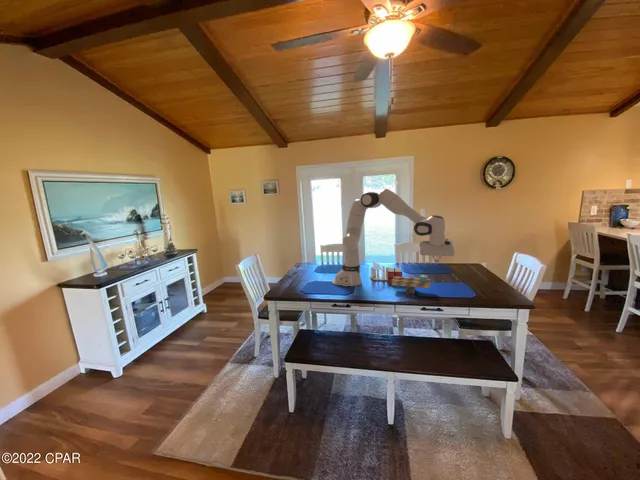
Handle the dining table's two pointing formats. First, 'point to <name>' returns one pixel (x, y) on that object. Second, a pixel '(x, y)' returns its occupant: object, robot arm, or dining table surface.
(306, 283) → the dining table surface
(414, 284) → the beam
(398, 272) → the puzzle cube
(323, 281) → the dining table surface
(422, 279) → the rider
